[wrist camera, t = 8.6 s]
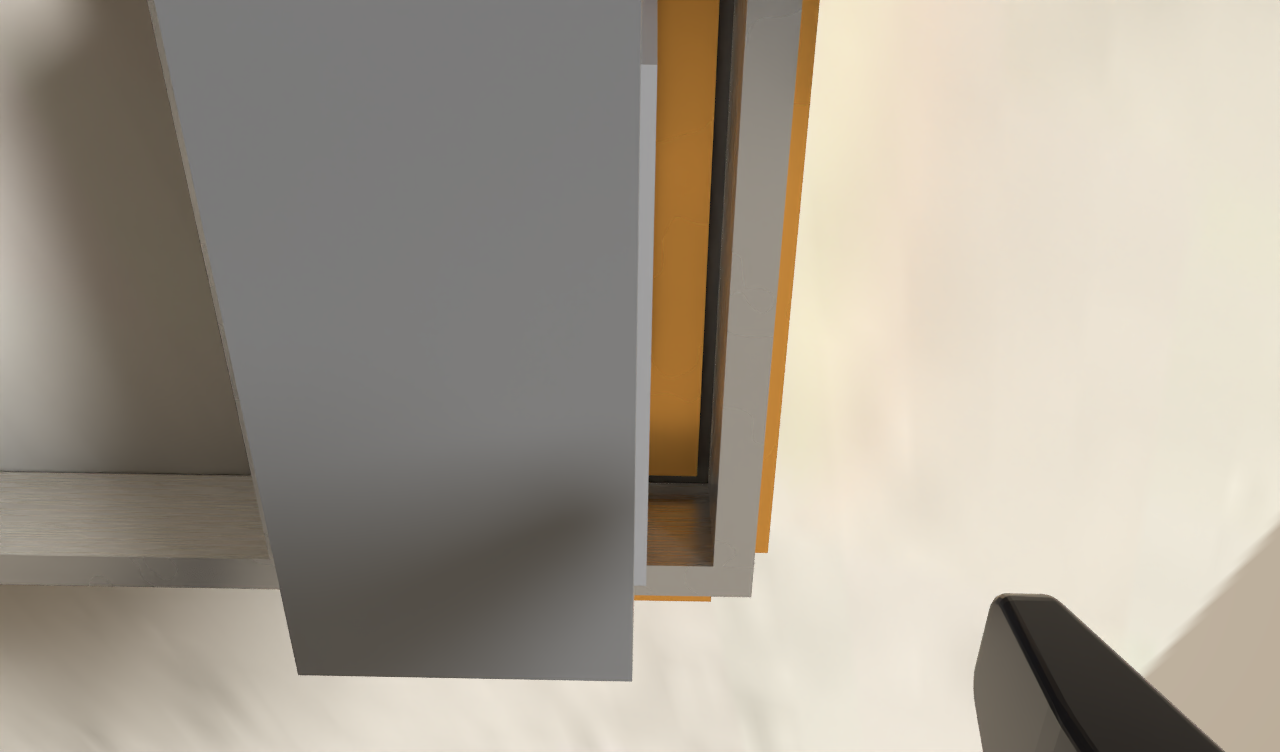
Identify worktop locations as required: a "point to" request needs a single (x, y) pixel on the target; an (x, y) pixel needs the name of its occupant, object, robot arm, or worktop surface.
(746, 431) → the tray
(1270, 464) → the worktop surface
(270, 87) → the grey rectangular cuboid
